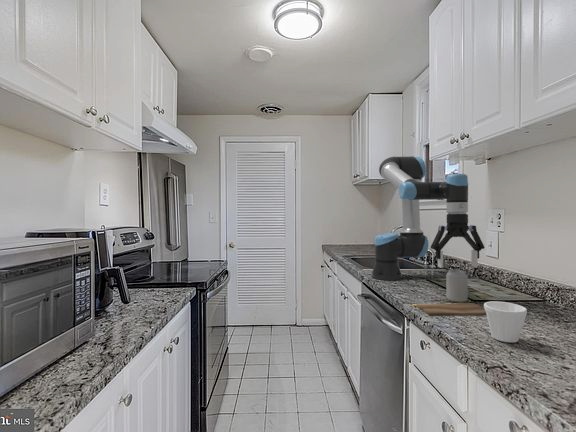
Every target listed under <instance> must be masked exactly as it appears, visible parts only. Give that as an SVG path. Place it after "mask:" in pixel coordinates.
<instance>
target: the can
mask: <svg viewBox="0 0 576 432" xmlns="http://www.w3.org/2000/svg"><path fill="white" fill-rule="evenodd" d="M447 271H448V272H447V273H446V276H445V277H446V279H445V281H446V283H445V284H446V288H445V289H446V290H445V292H446V293H445V295H446V297H445V298H446V299H447V300H448V301H449V302H452V303H456V304H462V303H466V302H467V301H468V299H469V298H468V297H469V296H468V294H469V293H468V288H469V287H468V283H469V282H468V281H469V278H468V277H469V275H468V274H467V271H466V270H462V269H448V270H447Z"/></svg>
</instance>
